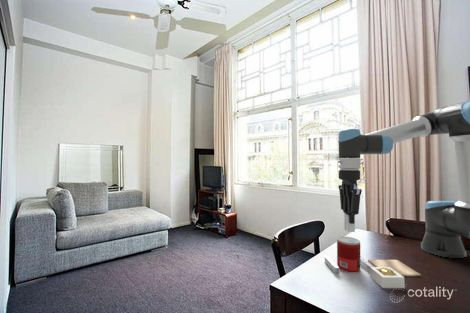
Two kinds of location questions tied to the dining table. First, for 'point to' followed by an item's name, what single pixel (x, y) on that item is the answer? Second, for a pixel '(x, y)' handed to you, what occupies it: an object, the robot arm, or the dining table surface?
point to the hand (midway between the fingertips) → (349, 230)
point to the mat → (395, 267)
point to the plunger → (386, 271)
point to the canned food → (348, 254)
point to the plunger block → (387, 278)
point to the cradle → (337, 270)
